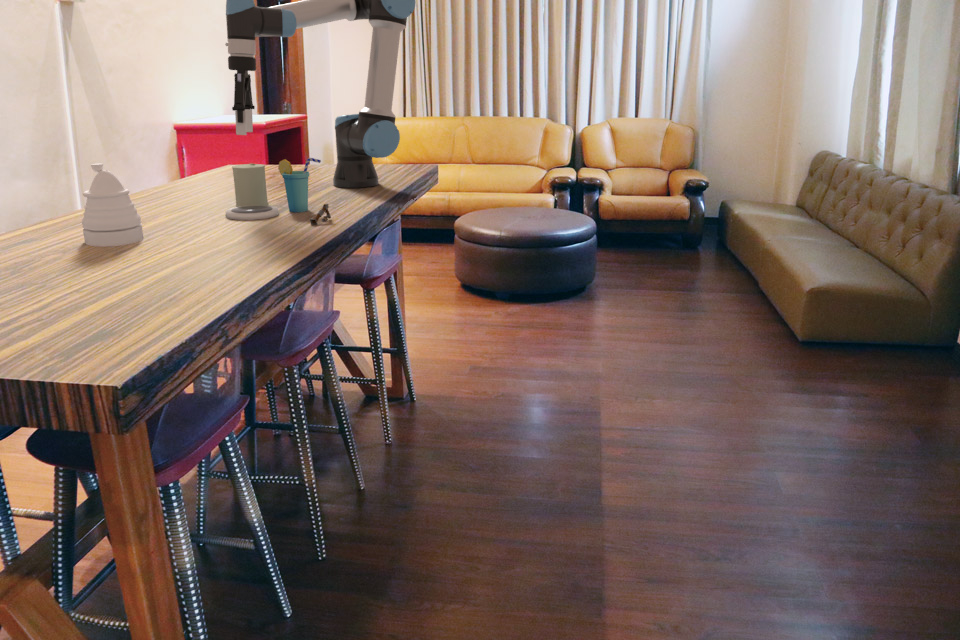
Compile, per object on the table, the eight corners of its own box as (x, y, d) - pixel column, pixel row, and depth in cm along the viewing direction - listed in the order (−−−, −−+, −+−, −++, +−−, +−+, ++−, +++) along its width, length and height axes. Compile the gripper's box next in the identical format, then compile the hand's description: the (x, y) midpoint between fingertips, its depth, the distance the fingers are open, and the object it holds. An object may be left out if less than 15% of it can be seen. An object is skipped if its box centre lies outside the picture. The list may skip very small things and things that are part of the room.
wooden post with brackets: (334, 215, 217) (329, 201, 214) (319, 233, 211) (315, 219, 208) (328, 215, 217) (324, 201, 214) (314, 232, 212) (309, 218, 209)
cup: (330, 209, 230) (326, 156, 225) (317, 214, 223) (313, 159, 218) (286, 207, 234) (282, 154, 229) (272, 212, 227) (267, 157, 222)
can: (272, 203, 241) (269, 162, 237) (261, 208, 232) (258, 166, 228) (242, 202, 242) (239, 162, 238) (230, 208, 233) (226, 166, 229)
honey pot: (72, 244, 190) (59, 166, 184) (114, 233, 201) (103, 160, 195) (115, 248, 185) (103, 169, 180) (155, 237, 197) (145, 162, 191)
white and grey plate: (280, 209, 230) (279, 204, 230) (276, 219, 217) (276, 213, 217) (229, 211, 228) (228, 205, 228) (222, 221, 215) (222, 215, 214)
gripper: (234, 56, 238) (237, 130, 244) (220, 53, 214) (224, 135, 220) (261, 57, 239) (263, 131, 245) (249, 55, 215) (252, 136, 221)
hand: (244, 133), depth 233 cm, fingers open, 13 cm apart
